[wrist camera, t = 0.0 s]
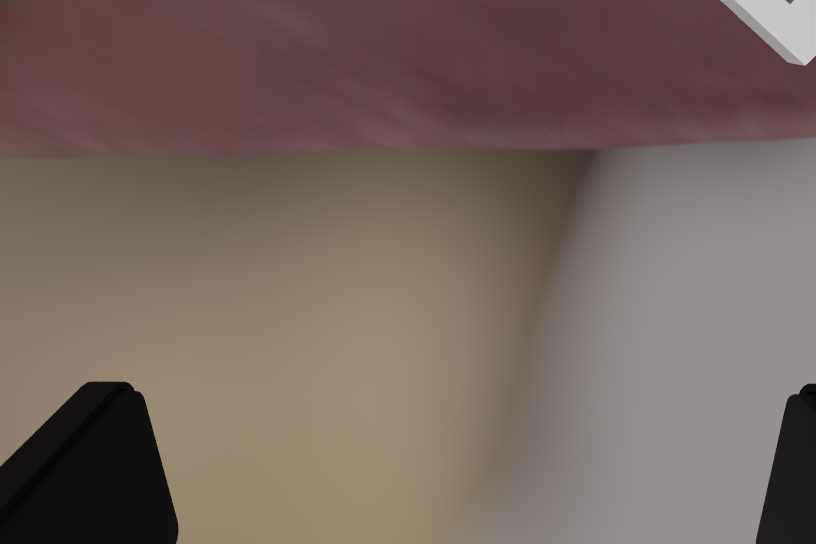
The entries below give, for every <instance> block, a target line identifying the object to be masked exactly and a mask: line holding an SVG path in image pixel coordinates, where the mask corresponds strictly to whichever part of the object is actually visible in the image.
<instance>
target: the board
mask: <svg viewBox="0 0 816 544" xmlns="http://www.w3.org/2000/svg"><path fill="white" fill-rule="evenodd" d="M721 1H722V2H723V3H724V4H725V5H726V6H727V7H728V8H729V9H731V10H732V11H733V12H734V13H735V14H736V15H737V16H738V17H739V18H740V19H741V20H742V21H744V22H745V23H746V24H747V25H748V26H749V27H750V28H751V29H752V30H753V31H754V32H755V33H756V34H758V35H759V36H760V37H761V38H762V39H763V40H764V41H765V42H766V43H767V44H768V45H769V46H771V47H772V48H773V49H774V50H775V51H776V52H777V53H778V54H779V55H780V56H781V57H782V58H784V59H785V60H786V61H787V62H788V63H794V64H799V65H805V66H806V65H807V64H808V63H809V62H810V61H811V60H812V59H813V58H814V57H815V56H816V0H721Z"/></svg>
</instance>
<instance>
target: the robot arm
mask: <svg viewBox="0 0 816 544" xmlns="http://www.w3.org/2000/svg"><path fill="white" fill-rule="evenodd" d="M177 538H178V521H177V517H176V514H175V510H174V506H173V503H172V499H171V495H170V492H169V488H168V484H167V480H166V477H165V473H164V469H163V466H162V462H161V458H160V454H159V451H158V447H157V444H156V440H155V436H154V432H153V429H152V425H151V421H150V417H149V414H148V410H147V406H146V403H145V400H144V397H143V395H142V394H141V393H140V392H138V391H134V388H133V387H132V386H131V385H130V384H129V383H127V382H88V383H86V384H84V385H83V386H82V387H81V388H80V389H79V390H78V391H77V392H76V393H75V394H74V395H73V396H72V397H70V399H68V401H66V402H65V403H64V404H63V405H62V406H61V407H60V408H59V409H58V410H57V411H56V412H55V413H54V414H53V415H52V416H51V417H50V418H49V419H48V420H47V421H46V422H45V423H44V424H43V425H42V426H41V427H40V428H39V429H38V430H37V431H36V432H35V433H34V434H33V435H32V436H31V437H30V438H29V439H28V440H27V441H26V442H25V443H24V444H23V445H22V446H21V447H20V448H19V449H18V450H17V451H16V452H15V453H14V454H13V455H12V456H11V457H10V458H9V459H8V460H7V461H6V462H5V463H4V464H3V465H2V466H1V467H0V544H176V541H177ZM756 544H816V384H807V385H805V386H804V387H803V388H802V389H801V390H800V393H799V394H794V395H791V396H790V397H789V398H788V400H787V403H786V407H785V411H784V416H783V420H782V425H781V429H780V434H779V439H778V443H777V448H776V452H775V457H774V461H773V466H772V470H771V475H770V480H769V484H768V488H767V493H766V497H765V502H764V506H763V511H762V516H761V520H760V524H759V529H758V533H757V538H756Z"/></svg>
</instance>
